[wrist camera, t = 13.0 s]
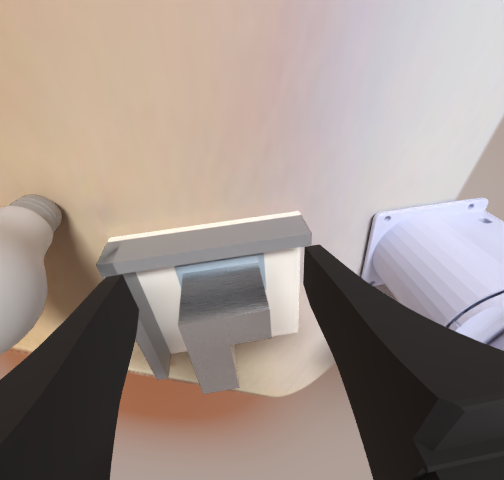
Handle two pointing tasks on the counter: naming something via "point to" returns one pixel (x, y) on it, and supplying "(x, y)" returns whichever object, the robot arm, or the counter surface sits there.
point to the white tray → (205, 258)
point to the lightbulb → (24, 264)
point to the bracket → (222, 320)
